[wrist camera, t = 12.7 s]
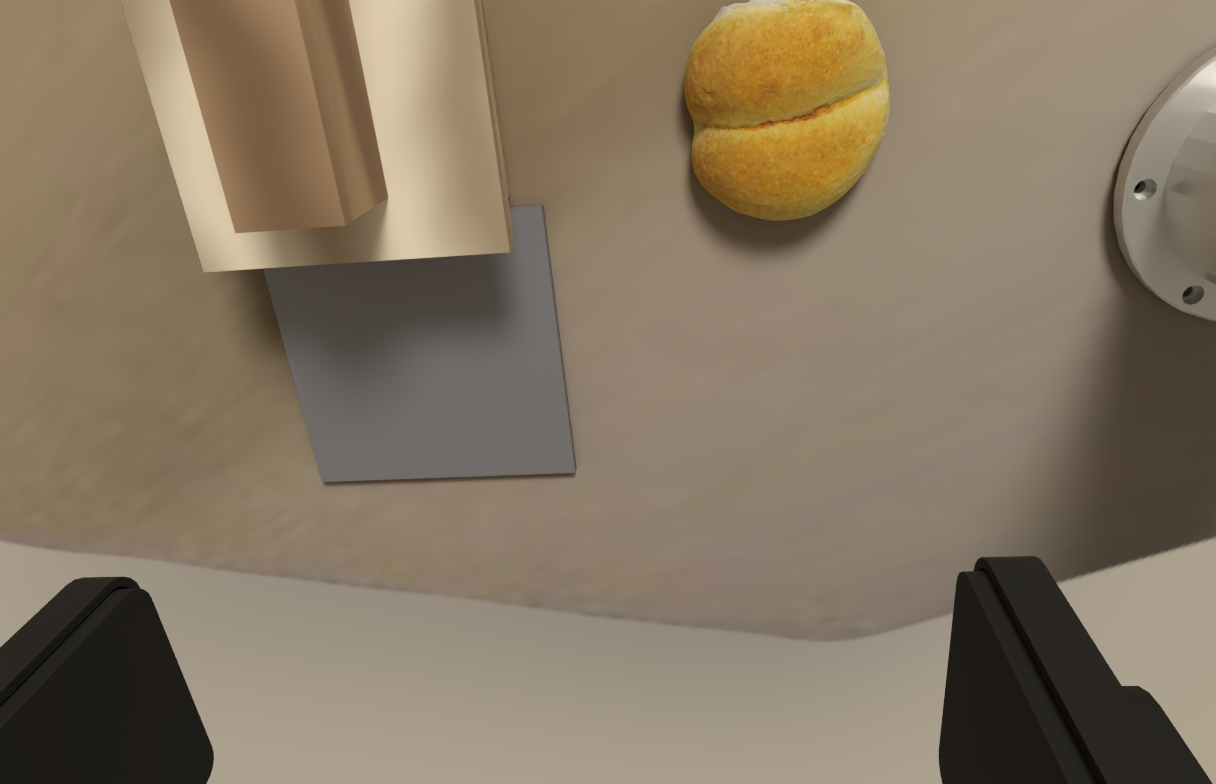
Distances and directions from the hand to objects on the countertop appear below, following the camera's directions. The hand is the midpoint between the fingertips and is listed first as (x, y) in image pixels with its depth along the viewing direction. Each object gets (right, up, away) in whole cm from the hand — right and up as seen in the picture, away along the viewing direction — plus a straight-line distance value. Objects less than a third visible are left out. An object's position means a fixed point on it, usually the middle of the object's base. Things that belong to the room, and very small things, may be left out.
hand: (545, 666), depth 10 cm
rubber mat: (-9, +5, +32) cm, 34 cm away
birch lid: (-10, +15, +22) cm, 28 cm away
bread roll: (+8, +16, +26) cm, 31 cm away
